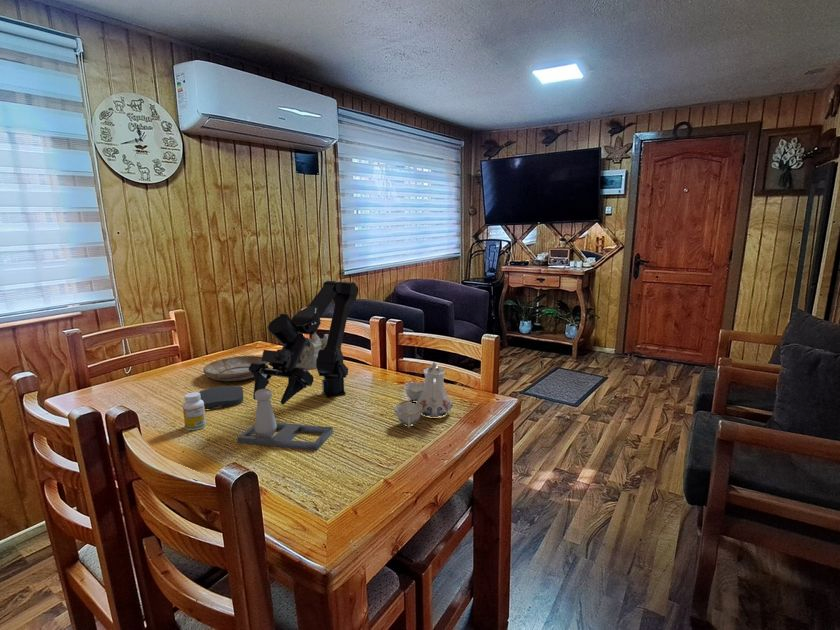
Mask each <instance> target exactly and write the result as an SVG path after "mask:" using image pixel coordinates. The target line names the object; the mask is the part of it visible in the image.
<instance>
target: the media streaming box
mask: <svg viewBox="0 0 840 630" xmlns="http://www.w3.org/2000/svg"><path fill="white" fill-rule="evenodd" d="M243 388H244V387H242V386H238V385H221V386H214V387H209V388H206V389H204V390H201V391H198V392H199V393H200V396H201V398H200V399H201V400H203V402H204V408H205V409H211V410H217V409H216V408H219V409H224V408H225V407H226V408H231V407H235V406H236V407H237V406H238V405H242V404H243V402H244V389H243Z"/></svg>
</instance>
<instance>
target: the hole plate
mask: <svg viewBox="0 0 840 630" xmlns="http://www.w3.org/2000/svg"><path fill="white" fill-rule="evenodd" d="M276 424H277V428H276V430H279V431H278V432H277V433H276V434H274V435H273V437H270V438H263V437H259V436H253V435H254V434H256V432H255V430H254V427H255V423H254V424H253V425H252V426H250V427H249V428H248V429H246V430H244V432H243V433H241V434H240V435H239V436H237V437H236V438H237V443H240V444H248V445H259V446H270V447H278V448H279V447H280V448H289V449H299V450H308V451H309V450H310V451H318V450H319V449H320V448H321V447H322V445H324V443H325V442H326V441H327V440H328V439H329V438H330V437H331V435H332V434H333V433H334V427H332V426H320V425H312V424H311V425H310V424H299V423H288V422H277V421H276ZM300 432H302V433H312V434H313V433H314V434H321V435H320V436H319V437H318V438H317V439H316V440H315V441H314V442H313V441H303V440H302V441H301V440H295V439H294V438H295V437H296V436H297V435H298V434H299V433H300Z"/></svg>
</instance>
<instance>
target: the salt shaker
mask: <svg viewBox="0 0 840 630" xmlns="http://www.w3.org/2000/svg"><path fill="white" fill-rule="evenodd" d="M272 395H273V394H272V390H271V389H269V388H265V389H260V390H257V391H256V392H255V399H256V400H255V399H254V400H255V401H257V403H256V410H255V420H254V424H255V427H254V430H255V434H256V435H257V437H263V438H273V437H274V436H275V433H276V430H277V429H276V428H277V424H276V422H277V420H276V417H275V414H274V410H273V406H272V401H271V399H272Z"/></svg>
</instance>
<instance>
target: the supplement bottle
mask: <svg viewBox="0 0 840 630" xmlns="http://www.w3.org/2000/svg"><path fill="white" fill-rule="evenodd" d="M199 392H200V391H198V392H197V391H195V392H189V393H186V394H185V395H184V401H185V402H183V403H182V411H183V413H182V414H183V420H184V421H183V422H184V428H185V430H186V431H190V430H192V431H198V430H201V429H203V428H205V427H206V426H207V421H206V420H207V419H206V412H205V411H206V410H205V408H204V402H203V400H201V399H200V398H201V396H200V393H199Z"/></svg>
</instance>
